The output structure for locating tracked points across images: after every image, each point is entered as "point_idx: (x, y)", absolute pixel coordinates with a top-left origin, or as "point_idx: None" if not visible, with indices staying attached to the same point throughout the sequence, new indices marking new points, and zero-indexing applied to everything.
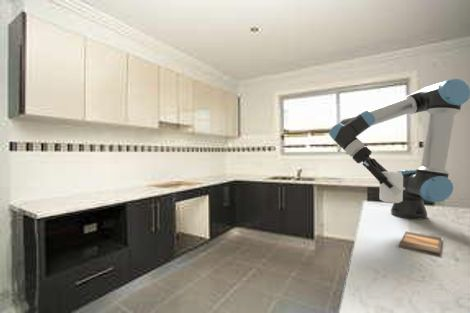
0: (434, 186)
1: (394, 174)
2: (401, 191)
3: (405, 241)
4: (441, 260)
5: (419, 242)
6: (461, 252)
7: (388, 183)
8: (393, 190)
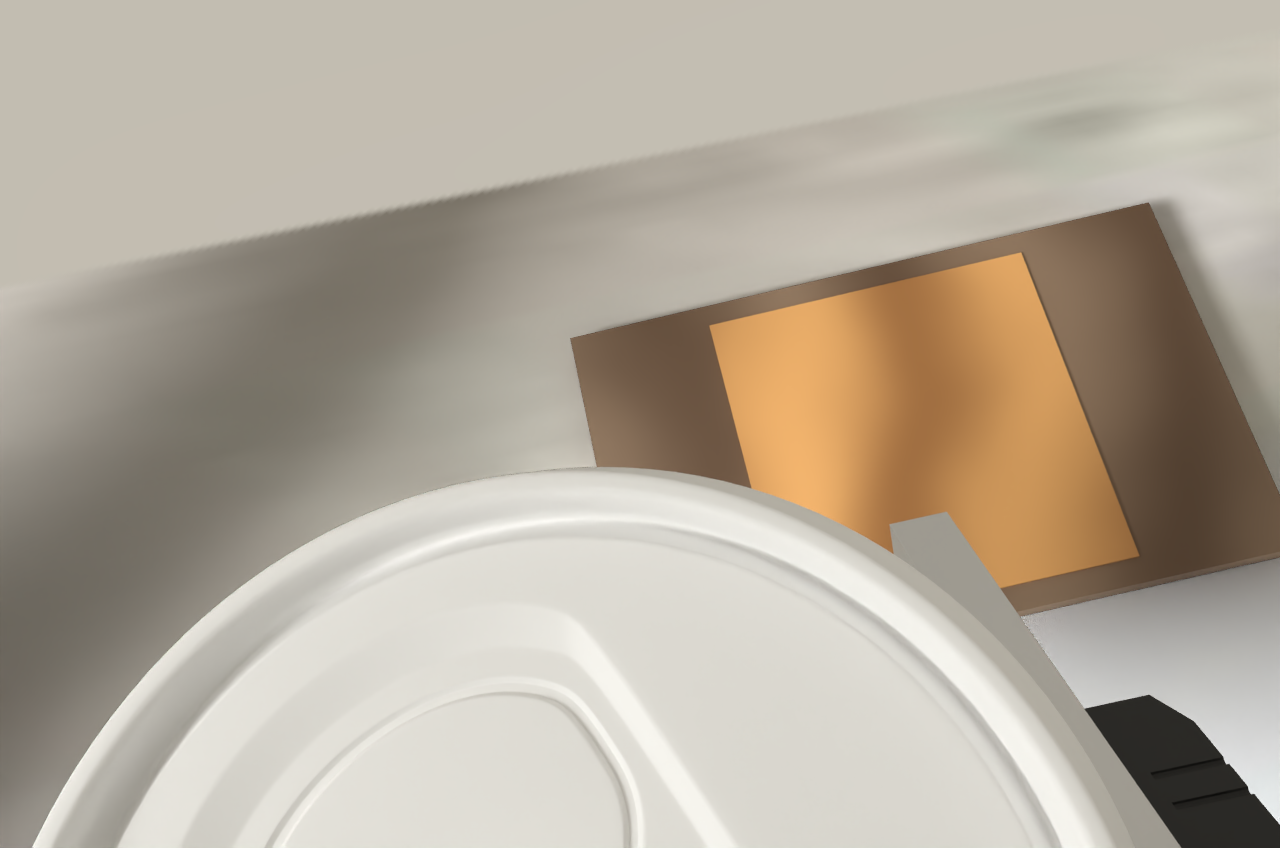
0: None
1: (987, 678)
2: (950, 518)
3: (1127, 533)
4: (1244, 184)
5: (1004, 421)
6: (830, 145)
7: (1263, 841)
8: None
